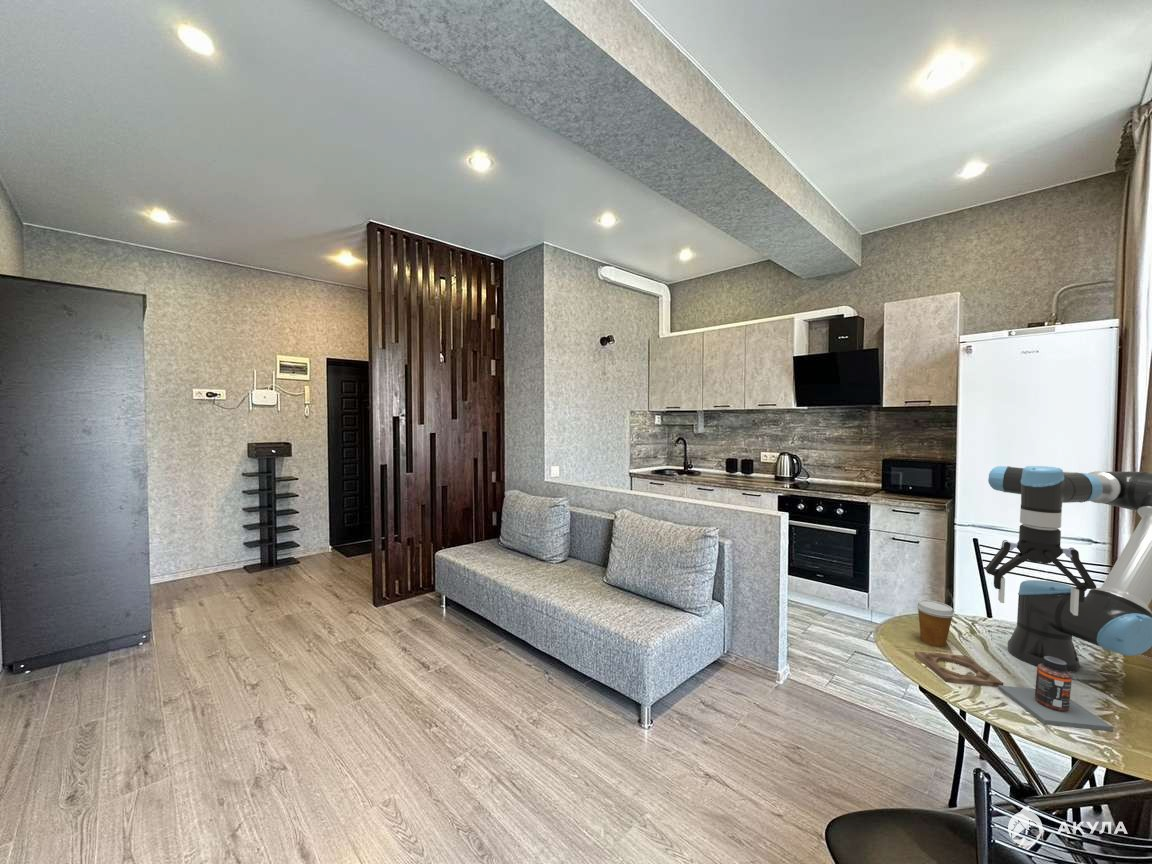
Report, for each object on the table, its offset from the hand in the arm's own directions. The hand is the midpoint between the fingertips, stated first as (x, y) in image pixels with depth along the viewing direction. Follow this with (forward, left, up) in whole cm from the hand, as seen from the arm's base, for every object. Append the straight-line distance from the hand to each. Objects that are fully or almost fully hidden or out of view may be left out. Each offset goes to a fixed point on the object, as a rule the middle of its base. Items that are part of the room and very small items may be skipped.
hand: (1036, 607), depth 119 cm
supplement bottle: (+1, +7, -22) cm, 23 cm away
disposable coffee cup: (+9, -25, -23) cm, 35 cm away
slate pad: (+1, +7, -23) cm, 24 cm away
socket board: (+13, -8, -23) cm, 27 cm away
